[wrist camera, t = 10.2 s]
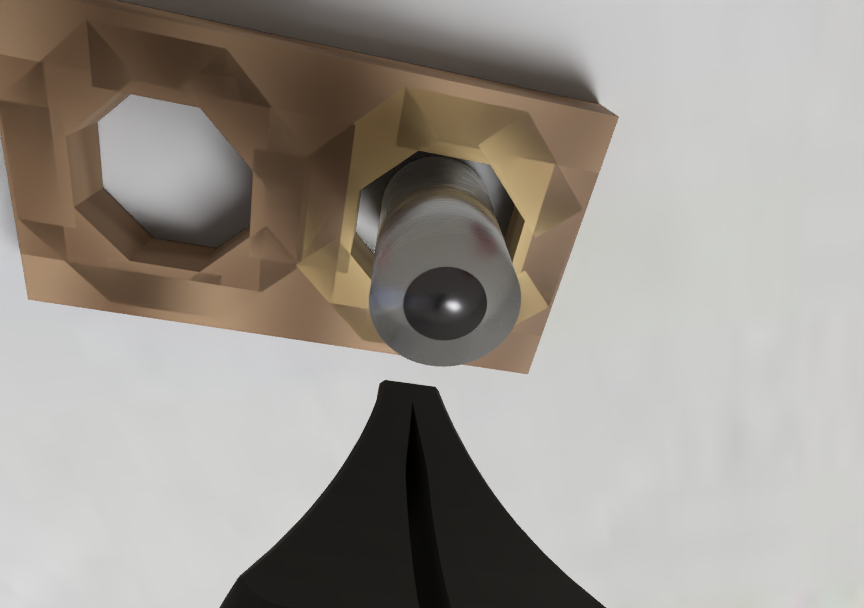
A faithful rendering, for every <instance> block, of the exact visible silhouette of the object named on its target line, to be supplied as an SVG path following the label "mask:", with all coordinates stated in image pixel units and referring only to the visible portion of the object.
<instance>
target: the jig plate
mask: <svg viewBox="0 0 864 608" xmlns="http://www.w3.org/2000/svg"><path fill="white" fill-rule="evenodd" d="M130 94H133V95H138V96H143V97H148V98H153V99H159V100H164V101H169V102H174V103H179V104H184V105H189V106H194V107H199V108H200V109H201V110H202V111H203V112H204V113H205V114H206V116H207V117H208V118H209V119H210V120H211V122H212V123H213V124H214V125H215V126H216V128H217V129H218V130H219V131H220V132H221V133H222V135H223V136H224V137H225V138H226V139H227V141H228V142H229V143H230V144H231V145H232V147H233V148H234V149H235V150H236V151H237V152H238V154H239V155H240V156H241V157H242V158H243V160H244V161H245V162H246V163H247V164H248V166H249V167H250V168H251V169H252V170H253V179H252V199H251V220H250V225H249V226H248V227H247V228H245V229H244V230H242V231H241V232H239V233H238V234H237V235H235V236H234V237H232V238H231V239H229V240H228V241H227V242H225V243H224V244H222V245H221V246H219V247H218V248H211V247H205V246H199V245H193V244H187V243H181V242H175V241H169V240H163V239H157V238H153V237H152V236H151V235H150V234H149V233H148V232H147V231H146V230H145V229H144V228H143V227H142V226H141V225H140V224H139V223H138V222H137V221H136V220H135V219H134V218H133V217H132V216H131V215H130V214H129V213H128V212H127V211H126V210H125V209H124V208H123V207H122V206H121V205H120V204H119V203H118V202H117V201H116V200H115V199H114V198H113V197H112V196H111V195H110V194H109V193H108V192H107V191H106V190H105V189H104V188H103V182H102V170H101V159H100V147H99V135H98V123H97V122H98V121H99V120H100V119H102V118H103V117H104V116H105V115H106V114H108V113H109V112H110V111H111V110H112V109H113V108H115V107H116V106H117V105H118V104H119V103H121V102H122V101H123V100H124V99H125V98H127V97H128V96H129V95H130ZM618 118H619V117H618V116H617V115H615V114H614V113H612V112H611V111H609V110H608V109H606V108H605V107H603V106H602V105H600V104H596V103H591V102H587V101H582V100H577V99H573V98H568V97H563V96H559V95H554V94H549V93H545V92H540V91H535V90H531V89H526V88H521V87H517V86H512V85H507V84H503V83H498V82H493V81H489V80H484V79H480V78H475V77H470V76H466V75H461V74H456V73H452V72H447V71H442V70H438V69H433V68H428V67H424V66H419V65H414V64H410V63H405V62H400V61H396V60H391V59H386V58H382V57H377V56H372V55H368V54H363V53H358V52H354V51H349V50H345V49H340V48H335V47H331V46H326V45H321V44H317V43H312V42H307V41H303V40H298V39H293V38H289V37H284V36H279V35H275V34H270V33H265V32H261V31H256V30H251V29H247V28H242V27H237V26H233V25H228V24H223V23H219V22H214V21H210V20H205V19H200V18H196V17H191V16H186V15H182V14H177V13H172V12H168V11H163V10H158V9H154V8H149V7H144V6H140V5H135V4H130V3H126V2H121V1H116V0H0V134H1V140H2V146H3V152H4V158H5V164H6V170H7V176H8V182H9V188H10V194H11V200H12V206H13V211H14V217H15V223H16V229H17V235H18V241H19V247H20V253H21V259H22V265H23V271H24V277H25V283H26V289H27V295H28V299H29V300H35V301H42V302H49V303H55V304H62V305H69V306H75V307H82V308H89V309H95V310H102V311H109V312H115V313H122V314H129V315H135V316H142V317H149V318H156V319H162V320H169V321H176V322H182V323H189V324H196V325H202V326H209V327H216V328H222V329H229V330H236V331H242V332H249V333H256V334H262V335H269V336H276V337H283V338H289V339H296V340H303V341H309V342H316V343H323V344H329V345H336V346H343V347H349V348H356V349H363V350H369V351H376V352H383V353H389V354H396V355H400V354H398V353H397V352H395V351H394V350H393V349H391V348H390V347H389V346H388V345H387V344H386V343H385V342H384V341H383V339H382V338H381V337H380V335H379V334H378V332H377V331H376V329H375V327H374V325H373V322H372V319H371V316H370V310H369V293H370V286H371V278H372V271H373V264H374V255H373V254H372V252H371V251H370V250H369V249H368V247H367V246H366V245H365V243H364V242H363V241H362V240H361V238H360V237H359V236H358V235H357V233H356V232H355V231H356V224H357V218H358V211H359V204H360V197H361V190H362V188H364V187H365V186H367V185H368V184H370V183H371V182H373V181H374V180H376V179H377V178H379V177H380V176H382V175H383V174H385V173H386V172H388V171H389V170H391V169H392V168H394V167H395V166H397V165H398V164H399V163H401V162H402V161H404V160H405V159H407V158H408V157H410V156H411V155H413V154H414V153H416V152H417V151H424V152H429V153H434V154H439V155H445V156H450V157H455V158H460V159H465V160H470V161H475V162H480V163H485V164H490V165H491V167H492V168H493V170H494V172H495V173H496V175H497V176H498V178H499V180H500V181H501V183H502V185H503V186H504V188H505V189H506V191H507V193H508V194H509V196H510V197H511V199H512V201H513V202H514V204H515V205H514V209H513V212H512V215H511V219H510V222H509V226H508V229H507V233H506V236H505V240H504V241H505V244H506V247H507V249H508V252H509V255H510V258H511V261H512V264H513V266H514V269H515V272H516V275H517V278H518V281H519V284H520V290H521V306H520V312H519V315H518V319H517V321H516V323H515V325H514V327H513V329H512V331H511V332H510V334H509V335H508V336H507V338H506V339H505V340H504V341H503V342H502V343H501V344H500V345H499V346H498V347H497V348H495V349H494V350H493V351H491V352H490V353H488V354H487V355H485V356H483V357H481V358H479V359H477V360H474V361H472V362H468V363H465V364H463V365H470V366H476V367H483V368H490V369H496V370H503V371H510V372H517V373H523V374H528V372H529V369H530V366H531V364H532V361H533V358H534V355H535V352H536V350H537V347H538V344H539V341H540V338H541V335H542V333H543V330H544V327H545V324H546V321H547V318H548V316H549V313H550V310H551V307H552V304H553V301H554V299H555V296H556V293H557V290H558V287H559V285H560V282H561V279H562V276H563V273H564V270H565V268H566V265H567V262H568V259H569V256H570V253H571V251H572V248H573V245H574V242H575V239H576V236H577V234H578V231H579V228H580V225H581V222H582V219H583V217H584V214H585V211H586V208H587V205H588V203H589V200H590V197H591V194H592V191H593V188H594V186H595V183H596V180H597V177H598V174H599V171H600V169H601V166H602V163H603V160H604V157H605V154H606V152H607V149H608V146H609V143H610V140H611V138H612V135H613V132H614V129H615V126H616V123H617V121H618Z"/></svg>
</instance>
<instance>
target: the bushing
mask: <svg viewBox="0 0 864 608" xmlns="http://www.w3.org/2000/svg"><path fill="white" fill-rule="evenodd" d="M520 306H521V290H520V284H519V281H518V278H517V275H516V272H515V269H514V266H513V264H512V261H511V258H510V255H509V252H508V249H507V247H506V244H505V241H504V238H503V235H502V232H501V230H500V227H499V224H498V221H497V218H496V215H495V212H494V210H493V207H492V204H491V201H490V198H489V195H488V193H487V190H486V188H485V185H484V183H483V182H482V180H481V179H480V177H479V176H478V175H477V174H476V173H475V172H474V171H473V170H472V169H471V168H470V167H468V166H467V165H465V164H464V163H462V162H460V161H458V160H455V159H452V158H447V157H439V156H433V157H425V158H421V159H418V160H415V161H413V162H411V163H409V164H407V165H405V166H404V167H403V168H401V169H400V170H399V171H398V172H397V173H396V174H395V175H394V176H393V177H392V179H391V180H390V182H389V183H388V185H387V187H386V189H385V191H384V195H383V198H382V205H381V213H380V220H379V227H378V235H377V242H376V249H375V256H374V264H373V271H372V278H371V286H370V293H369V310H370V316H371V319H372V322H373V325H374V327H375V329H376V331H377V332H378V334H379V335H380V337H381V338H382V339H383V341H384V342H385V343H386V344H387V345H388V346H389V347H390V348H391V349H393V350H394V351H395V352H397V353H398V354H400V355H401V356H403V357H405V358H407V359H409V360H412V361H415V362H417V363H421V364H425V365H431V366H455V365H461V364H465V363H468V362H472V361H474V360H477V359H479V358H481V357H483V356H485V355H487V354H488V353H490V352H491V351H493V350H494V349H495V348H497V347H498V346H499V345H500V344H501V343H502V342H503V341H504V340H505V339H506V338H507V336H508V335H509V334H510V332H511V331H512V329H513V327H514V325H515V323H516V321H517V319H518V315H519V312H520Z"/></svg>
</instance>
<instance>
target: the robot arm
mask: <svg viewBox="0 0 864 608" xmlns="http://www.w3.org/2000/svg"><path fill="white" fill-rule="evenodd" d="M220 608H606V607H604V606H603V605H602V604H601V603H600V602H598V601H597V600H596V599H595V598H594V597H592V596H591V595H590V594H589V593H588V592H586V591H585V590H584V589H583V588H582V587H580V586H579V585H578V584H577V583H575V582H574V581H573V580H572V579H571V578H570V577H569V576H567V575H566V574H565V573H564V572H563V571H562V570H561V569H560V568H559V567H558V566H557V565H556V564H555V563H554V562H553V561H552V560H551V559H549V558H548V557H547V556H546V555H545V554H544V553H543V552H542V551H541V550H540V548H539V547H538V546H537V545H536V544H535V543H534V542H533V541H532V540H531V539H530V538H529V536H528V535H527V534H526V533H525V532H524V531H523V530H522V529H521V528H520V527H519V525H518V524H517V523H516V522H515V521H514V519H513V518H512V517H511V516H510V514H509V513H508V512H507V511H506V509H505V508H504V507H503V505H502V504H501V503H500V501H499V500H498V499H497V497H496V496H495V495H494V493H493V492H492V490H491V489H490V488H489V486H488V485H487V483H486V482H485V480H484V479H483V477H482V475H481V474H480V472H479V471H478V469H477V467H476V466H475V464H474V462H473V461H472V459H471V457H470V456H469V454H468V452H467V450H466V448H465V447H464V445H463V443H462V441H461V439H460V437H459V436H458V434H457V432H456V430H455V428H454V426H453V423H452V421H451V419H450V417H449V415H448V413H447V411H446V408H445V406H444V404H443V401H442V399H441V396H440V394H439V391H438V390H437V388H436V387H432V386H425V385H418V384H410V383H403V382H396V381H388V380H385V381H383V382H381V383H380V385H379V390H378V395H377V400H376V403H375V406H374V408H373V411H372V413H371V416H370V418H369V420H368V422H367V424H366V426H365V428H364V430H363V432H362V434H361V436H360V438H359V440H358V441H357V443H356V445H355V446H354V448H353V450H352V451H351V453H350V455H349V456H348V458H347V460H346V461H345V463H344V464H343V466H342V467H341V469H340V470H339V472H338V473H337V475H336V476H335V477H334V479H333V480H332V481H331V483H330V484H329V485H328V487H327V488H326V489H325V491H324V492H323V493H322V494H321V496H320V497H319V498H318V499H317V500H316V502H315V503H314V504H313V505H312V507H311V508H310V509H309V510H308V511H307V512H306V513H305V515H304V516H303V517H302V518H301V519H300V520H299V521H298V522H297V523H296V524H295V525H294V526H293V527H292V528H291V529H290V530H289V531H288V532H287V533H286V534H285V535H284V536H283V537H282V538H281V539H280V541H279V542H278V543H277V544H275V545H274V546H273V547H272V548H271V549H270V550H269V551H268V552H267V553H266V554H264V555H263V556H262V557H261V558H260V559H259V560H258V561H256V562H255V563H254V564H253V565H252V566H251V567H249V568H248V569H247V570H246V571H245V572H244V573H243V574H241V575H240V576H239V578H238V579H237V581H236V582H235V584H234V585H233V587H232V588H231V590H230V592H229V593H228V595H227V596H226V598H225V599H224V601H223V603H222V604H221V606H220Z"/></svg>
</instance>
